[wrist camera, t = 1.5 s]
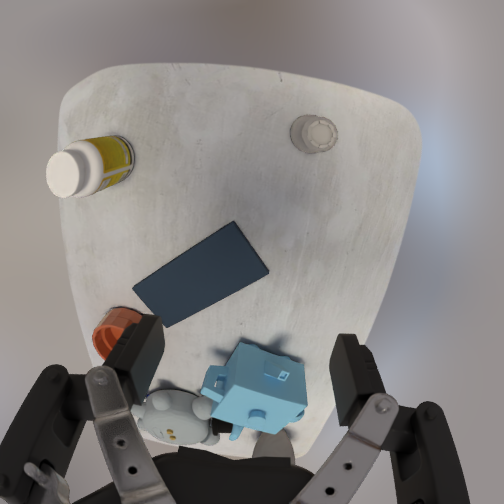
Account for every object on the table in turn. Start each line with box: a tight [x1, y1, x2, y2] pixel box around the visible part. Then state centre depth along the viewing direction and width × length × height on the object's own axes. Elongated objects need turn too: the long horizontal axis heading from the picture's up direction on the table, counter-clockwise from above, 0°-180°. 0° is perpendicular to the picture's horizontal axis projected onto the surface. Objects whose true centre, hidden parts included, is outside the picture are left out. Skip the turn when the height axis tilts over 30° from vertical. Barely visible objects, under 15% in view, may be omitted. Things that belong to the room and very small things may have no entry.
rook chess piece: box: [290, 115, 338, 153], centre depth 26 cm, size 4×4×8 cm
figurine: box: [131, 390, 233, 446], centre depth 47 cm, size 17×8×20 cm
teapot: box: [200, 342, 308, 441], centre depth 39 cm, size 16×18×11 cm
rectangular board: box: [132, 221, 269, 328], centre depth 38 cm, size 18×8×1 cm, turn 123°
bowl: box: [92, 308, 142, 360], centre depth 41 cm, size 10×10×5 cm
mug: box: [252, 429, 295, 465], centre depth 49 cm, size 12×9×10 cm
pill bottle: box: [46, 136, 134, 198], centre depth 27 cm, size 6×6×11 cm
